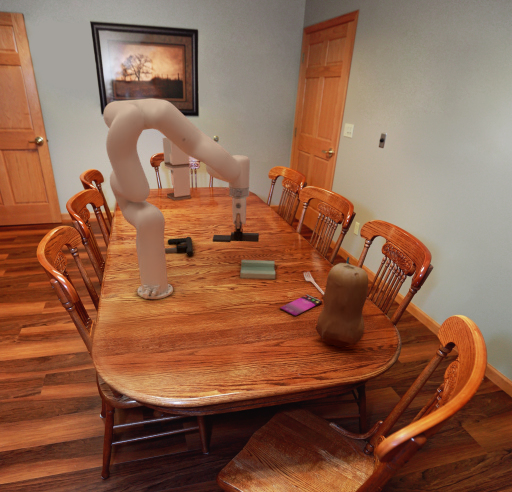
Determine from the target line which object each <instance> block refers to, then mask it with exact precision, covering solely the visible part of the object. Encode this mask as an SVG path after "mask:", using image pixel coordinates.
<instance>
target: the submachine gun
mask: <svg viewBox="0 0 512 492" xmlns="http://www.w3.org/2000/svg"><path fill="white" fill-rule="evenodd" d="M193 243H194V240H193V239H192V237H191V236H187V237H180V238H179V237H178V238H177V237H176V238H169V239H167V244H168V245H176V247H167V248H166V247H165V254H175V253H177V254H186V256H187V257H193V255H194V254H195V253H196V252H194V248H193V246H194V245H193Z"/></svg>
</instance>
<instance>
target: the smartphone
mask: <svg viewBox="0 0 512 492" xmlns="http://www.w3.org/2000/svg"><path fill="white" fill-rule="evenodd" d="M321 303H323V300H321V299H319V298H317V297H314V296H313V295H311V294H308V293H307V294H305V295H303V296H300V297H299V298H297V299H295V300H293V301H290V302H288V303H286V304H284V305H281V306H280V307H279V309H280V310H282V311H284V312H286V313H288V314H290V315H292V316H293V317H297V316H298V315H300V314H302V313H304V312H307V311H308V310H310V309H312V308H314V307H316V306H318V305H320V304H321Z"/></svg>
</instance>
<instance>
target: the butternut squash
mask: <svg viewBox="0 0 512 492" xmlns="http://www.w3.org/2000/svg"><path fill="white" fill-rule="evenodd" d="M326 277H327V278H326V283H325V289H324V290H325V291H324V295H323V294H322V302H323V307H322V309H321V311H320V313H319V315H318V317H317V320H316V321H317V322H316V325H315V330H316V332H317V333H318V336H319V337H320V338H321V340H322V341H323V342H324V343H325V344H327V345H331V346H335V347H337V348H347V347H351V346H354V345H356V344H358V343H359V342H360V341H361V340H362V338H363V336H364V333H365V320H364V317H363V309H364V307H365V303H366V301H367V297H368V292H369V291H368V290H369V275H368V273H367V271H366V270H365V269H364V268H362V267H359V266H357V265H353V264H350V263H348V264H347V262H345V263H344V262H339V263H337V264H336V265H334V266H332V267H331V268H330V270H329V272H328V274H327V276H326Z"/></svg>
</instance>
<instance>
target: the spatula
mask: <svg viewBox="0 0 512 492" xmlns="http://www.w3.org/2000/svg"><path fill="white" fill-rule="evenodd" d="M259 239H260V233H259V232H243V238H242V241H241V242H245V243H247V242H249V243H259V242H260V241H259ZM212 242H213V243H231V242H235V241H234V231H231V232H230V234H213V236H212Z"/></svg>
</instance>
